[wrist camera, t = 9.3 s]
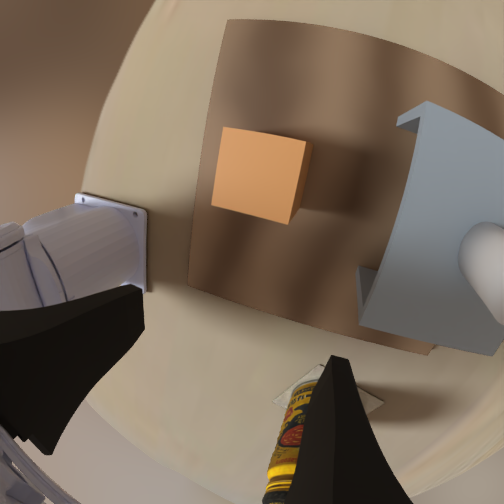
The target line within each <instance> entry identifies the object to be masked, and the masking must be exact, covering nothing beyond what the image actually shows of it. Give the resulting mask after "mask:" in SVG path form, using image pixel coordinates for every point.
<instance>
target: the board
mask: <svg viewBox="0 0 504 504" xmlns="http://www.w3.org/2000/svg"><path fill="white" fill-rule="evenodd" d="M425 101H429V102H431V103H434V104H436V105H438V106H441V107H443V108H445V109H447V110H450V111H452V112H454V113H456V114H458V115H460V116H462V117H464V118H466V119H468V120H470V121H472V122H474V123H475V124H477V125H479V126H481V127H483V128H485V129H486V130H488V131H490V132H491V133H493V134H495V135H496V136H498V137H500V138H501V139H503V140H504V95H503V94H501V93H500V92H498V91H497V90H495V89H493V88H492V87H490V86H488V85H487V84H485V83H483V82H482V81H480V80H478V79H476V78H474V77H473V76H471V75H469V74H467V73H465V72H463V71H461V70H459V69H457V68H455V67H453V66H451V65H449V64H447V63H445V62H442V61H440V60H438V59H436V58H433V57H431V56H428V55H426V54H423V53H421V52H418V51H416V50H413V49H410V48H407V47H405V46H402V45H399V44H396V43H393V42H389V41H386V40H383V39H379V38H376V37H372V36H368V35H365V34H360V33H356V32H352V31H347V30H343V29H338V28H332V27H327V26H320V25H314V24H306V23H298V22H288V21H275V20H250V19H236V20H227V24H226V28H225V32H224V36H223V40H222V45H221V49H220V53H219V58H218V63H217V67H216V72H215V77H214V82H213V87H212V92H211V98H210V103H209V109H208V114H207V120H206V126H205V132H204V138H203V145H202V152H201V158H200V165H199V173H198V180H197V188H196V196H195V205H194V214H193V223H192V233H191V244H190V255H189V268H188V282H187V285H188V286H190V287H193V288H196V289H199V290H202V291H204V292H207V293H210V294H213V295H216V296H219V297H222V298H224V299H227V300H230V301H233V302H236V303H239V304H242V305H245V306H248V307H251V308H254V309H257V310H261V311H264V312H267V313H270V314H273V315H276V316H280V317H283V318H286V319H289V320H293V321H296V322H299V323H303V324H306V325H309V326H313V327H316V328H320V329H323V330H327V331H330V332H334V333H338V334H341V335H345V336H349V337H352V338H356V339H360V340H364V341H368V342H372V343H376V344H380V345H384V346H388V347H392V348H396V349H400V350H405V351H409V352H413V353H418V354H423V355H427V356H428V354H429V353H430V351H431V350H432V348H433V347H434V345H435V344H432V343H428V342H424V341H419V340H415V339H411V338H407V337H403V336H399V335H395V334H391V333H387V332H383V331H380V330H376V329H372V328H368V327H364V326H361V325H359V320H358V302H357V288H356V276H355V273H356V270H357V268H358V265H359V266H362V267H365V268H369V269H372V270H375V271H378V270H379V267H380V264H381V262H382V259H383V256H384V254H385V251H386V248H387V245H388V242H389V239H390V236H391V233H392V230H393V227H394V224H395V221H396V218H397V214H398V211H399V208H400V204H401V201H402V197H403V194H404V190H405V186H406V183H407V179H408V175H409V171H410V167H411V162H412V158H413V153H414V149H415V144H416V139H417V134H416V133H413V132H410V131H408V130H405V129H402V128H399V127H396V125H397V120H398V117H399V116H401V115H402V114H404V113H406V112H408V111H409V110H411V109H413V108H415V107H416V106H418V105H420V104H422V103H424V102H425ZM223 127H228V128H235V129H242V130H249V131H255V132H261V133H266V134H272V135H277V136H282V137H287V138H292V139H297V140H301V141H306V142H309V143H312V144H314V145H313V150H312V155H311V159H310V164H309V169H308V173H307V178H306V182H305V187H304V191H303V196H302V200H301V204H300V208H299V210H298V211H297V213H296V214H295V216H294V217H293V218H292V220H291V221H290V223H289V224H288V225H287V224H283V223H279V222H276V221H272V220H268V219H264V218H260V217H257V216H253V215H249V214H245V213H241V212H237V211H233V210H229V209H225V208H221V207H217V206H213V205H211V203H212V196H213V189H214V182H215V175H216V168H217V162H218V155H219V149H220V143H221V137H222V131H223Z"/></svg>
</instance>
